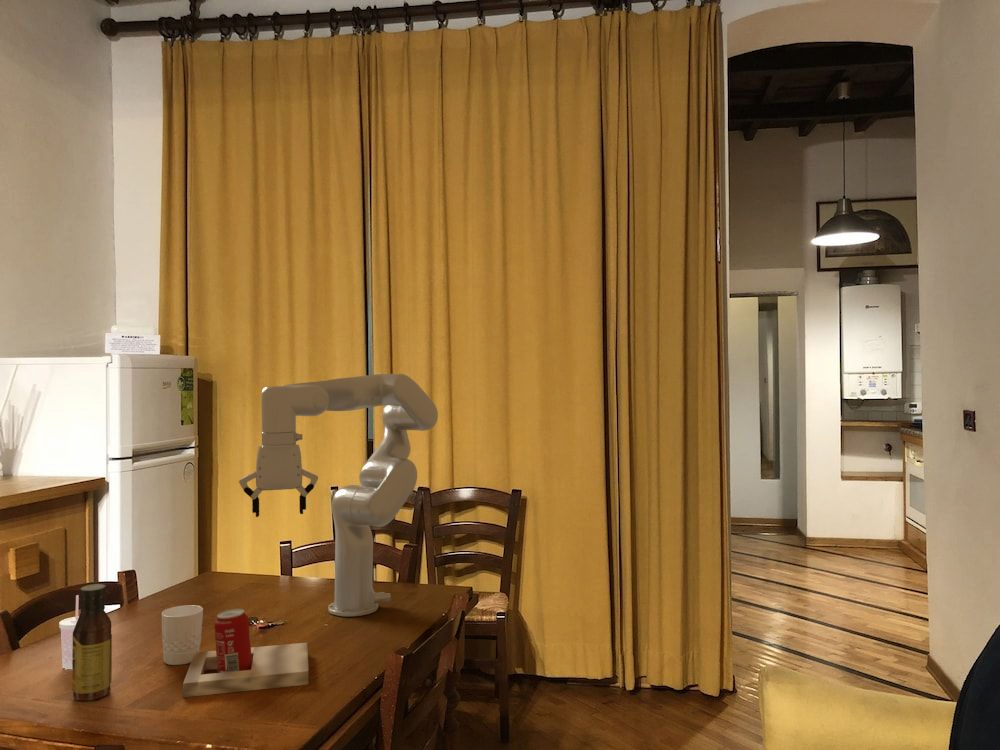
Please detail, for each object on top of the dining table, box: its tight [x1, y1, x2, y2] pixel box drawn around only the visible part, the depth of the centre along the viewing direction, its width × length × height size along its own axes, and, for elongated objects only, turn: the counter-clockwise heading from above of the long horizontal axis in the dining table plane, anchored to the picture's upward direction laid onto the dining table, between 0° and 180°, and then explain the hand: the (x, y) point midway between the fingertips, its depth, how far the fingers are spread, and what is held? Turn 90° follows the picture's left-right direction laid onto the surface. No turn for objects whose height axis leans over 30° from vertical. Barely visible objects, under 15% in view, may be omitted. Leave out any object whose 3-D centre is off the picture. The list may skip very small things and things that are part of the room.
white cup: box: [161, 604, 204, 666], centre depth 147 cm, size 8×8×10 cm
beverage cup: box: [58, 594, 80, 670], centre depth 143 cm, size 6×6×14 cm
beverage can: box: [213, 608, 252, 673], centre depth 138 cm, size 6×6×12 cm
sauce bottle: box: [71, 583, 113, 702], centre depth 129 cm, size 6×6×20 cm
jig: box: [182, 642, 309, 698], centre depth 139 cm, size 22×16×2 cm
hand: (279, 514), depth 162 cm, fingers open, 9 cm apart
